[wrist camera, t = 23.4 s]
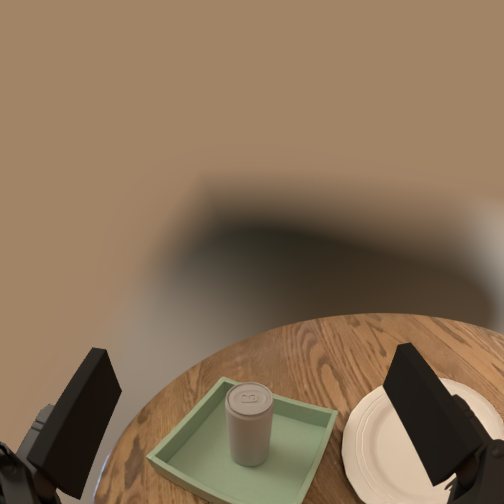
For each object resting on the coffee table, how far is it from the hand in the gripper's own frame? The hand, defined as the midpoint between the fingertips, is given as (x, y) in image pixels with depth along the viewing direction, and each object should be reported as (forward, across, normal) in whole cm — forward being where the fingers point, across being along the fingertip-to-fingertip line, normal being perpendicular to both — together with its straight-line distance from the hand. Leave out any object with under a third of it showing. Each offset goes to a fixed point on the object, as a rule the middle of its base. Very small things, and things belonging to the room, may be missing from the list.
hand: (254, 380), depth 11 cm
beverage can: (+10, 0, -24) cm, 26 cm away
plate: (+5, +26, -25) cm, 36 cm away
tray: (+10, 0, -25) cm, 27 cm away
